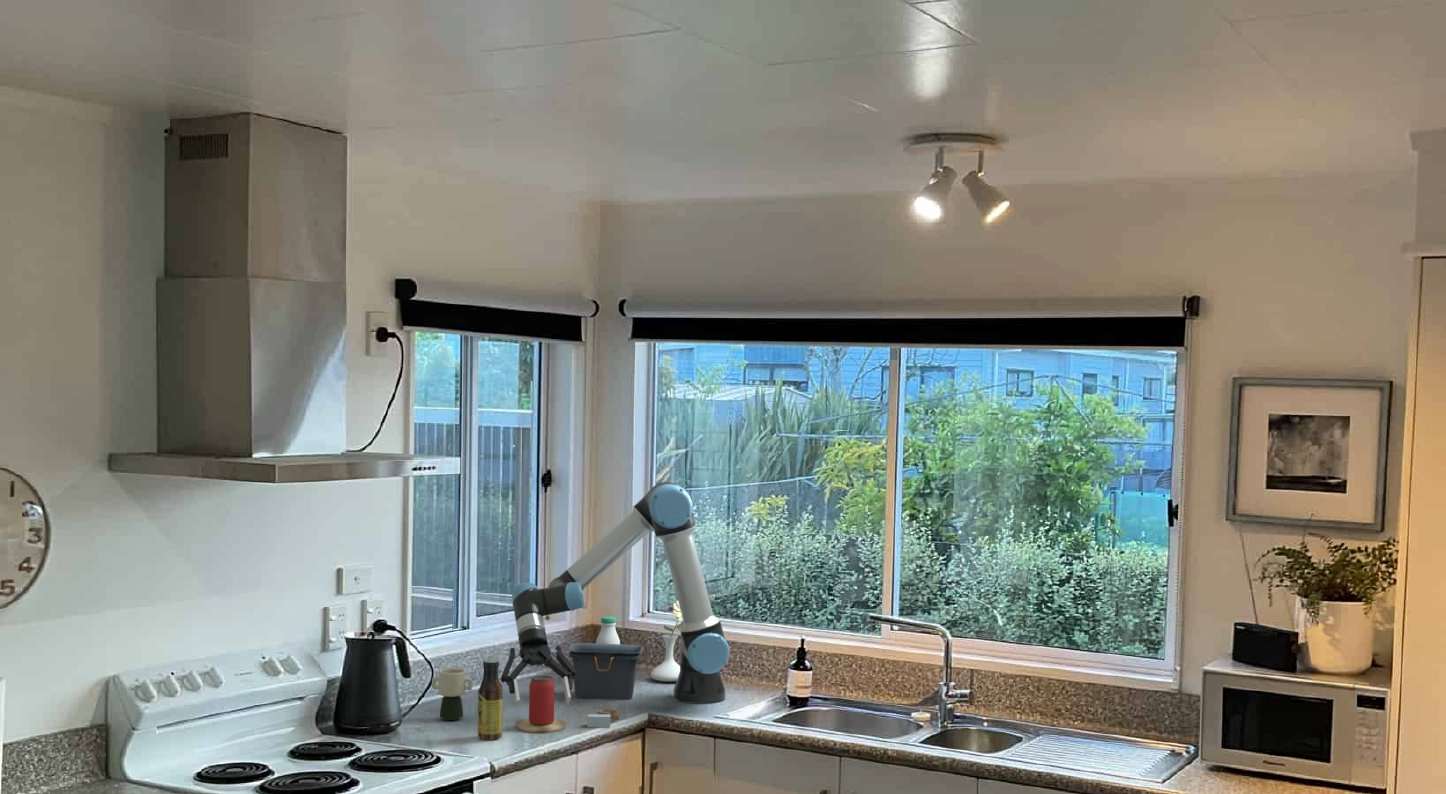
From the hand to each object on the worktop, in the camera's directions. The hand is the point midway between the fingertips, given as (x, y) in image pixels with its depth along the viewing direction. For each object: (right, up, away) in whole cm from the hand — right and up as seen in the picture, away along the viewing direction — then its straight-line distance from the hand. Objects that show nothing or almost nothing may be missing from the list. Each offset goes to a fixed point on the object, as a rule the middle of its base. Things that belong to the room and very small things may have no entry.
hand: (543, 701), depth 360 cm
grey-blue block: (+14, -8, +5) cm, 17 cm away
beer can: (-1, -6, +2) cm, 7 cm away
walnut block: (+16, -8, +11) cm, 21 cm away
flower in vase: (+31, -8, +65) cm, 73 cm away
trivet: (-1, -7, +2) cm, 8 cm away
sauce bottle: (-12, -7, -11) cm, 18 cm away
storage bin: (+13, -8, +40) cm, 43 cm away
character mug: (-26, -7, +9) cm, 28 cm away
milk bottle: (+12, -8, +60) cm, 62 cm away
